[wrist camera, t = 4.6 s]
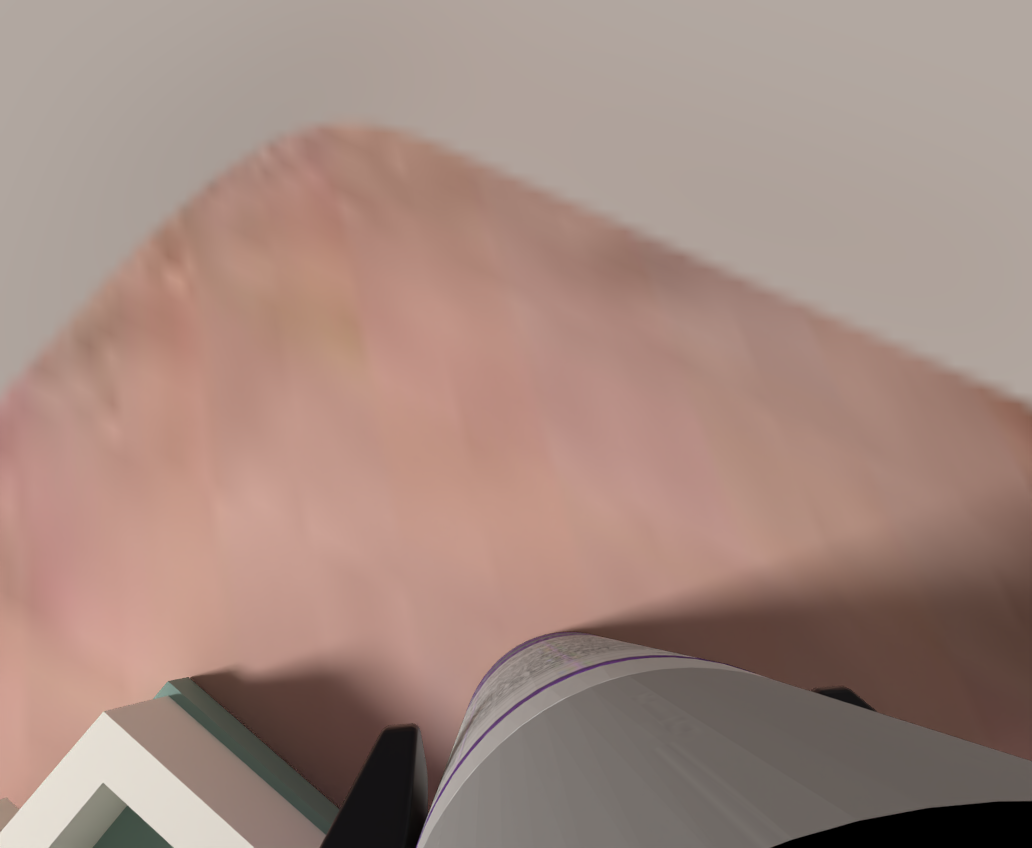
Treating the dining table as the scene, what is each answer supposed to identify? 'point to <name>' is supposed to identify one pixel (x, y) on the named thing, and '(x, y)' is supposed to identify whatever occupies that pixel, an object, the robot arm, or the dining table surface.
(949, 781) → the container
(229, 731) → the board
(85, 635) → the dining table surface
